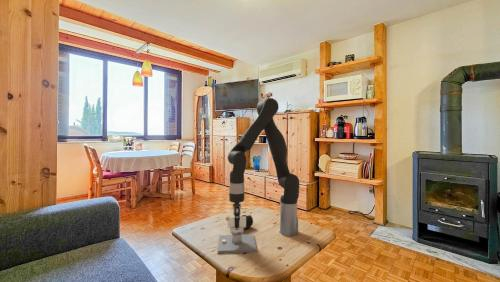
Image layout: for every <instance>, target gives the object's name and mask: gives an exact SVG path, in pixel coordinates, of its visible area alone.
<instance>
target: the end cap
mask: <svg viewBox="0 0 500 282" xmlns="http://www.w3.org/2000/svg"><path fill="white" fill-rule="evenodd" d="M241 216H246V227H244V229H247V228H250V227H252V226H253V224H254V219H253V217H252V216H251V215H250V214H249V215H246V214H242V215H241Z"/></svg>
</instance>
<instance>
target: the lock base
mask: <svg viewBox="0 0 500 282" xmlns="http://www.w3.org/2000/svg"><path fill="white" fill-rule="evenodd" d="M257 250H258V249H257V245H256V241H255V235H254V233H250V234H249V233H248V234H244V233H242V234H239V235H234V234H219V237H218V245H217V254H219V255H220V254H235V253H236V254H239V253H257V252H258V251H257Z"/></svg>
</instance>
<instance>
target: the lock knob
mask: <svg viewBox="0 0 500 282" xmlns="http://www.w3.org/2000/svg"><path fill="white" fill-rule="evenodd" d="M246 216H247V215H246ZM246 216H242V215H240V220H239V228H235V220H234V219H235V216H225V221H227V229H229V234H230V235H232V234H234V235H239V234H242V235H243V234H244V232H245V228H244V227H246ZM236 218H239V217H236Z"/></svg>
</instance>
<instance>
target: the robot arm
mask: <svg viewBox="0 0 500 282" xmlns="http://www.w3.org/2000/svg"><path fill="white" fill-rule="evenodd" d="M278 111H279V103H278V101H277V100H276V99H275V98H272V97H268V98H265V99H262V100H260V101H258V103H257V105H256V113H257V115H258V116H257V117H256V119H254V121H253V122H252V123H251V124H250V125H249V127H248V128H247V129H246V130H245V131H244V132H243V134H242V136H241V137H240V139H239V141H238V142H237V143H236V144H235V145H234V146H233V147H232V149H230V151H229V152H228V155H227V161H228V163H229V164H231V165H232V170H230V172H229V184H228V185H229V186H228V189H229V190H228V193H229V195H228V200H229V202H230V203H232V210H233V211H232V212H233V213H232V214H233V217H235V219H234V220H235V228H239V220H240V216H241V211H242V205H241V204H242V203H243V202H244V201H245V171H246V166H247V156H246V152H248V151H250V150H251V149H252V148H253V146H254V144H255V143H256V141H257V139H258V137H260V135H261V133H262V132H263V131H264V133H265V137H266V140H267V144H268V148H269V151H270V154H271V158H272V160H273V163H274V166H275V171H276V176H277V182H278V185H279V186H280V187H281V188H282V189H283V195H281V196H280V199H279V200H280V207H279V208H280V209H279V213H280V214H279V216H280V217H279V218H280V220H279V222H280V223H279V226H280V227H279V232H280V234H281V235H283V236H285V237H286V236H287V237H294V236H297V235H299V216H298V200H299V196H300V195H299V194H300V179H299V177H298V175H296V174H294V173H291V172H290V169H289V166H288V161H287V160H288V147H287V143H286V138H285V137H284V135H283V134H282V132H281V131H280V129H279V128H278V127H277V124H275V120H274V117H275V116H276V114H277V113H278ZM236 217H239V218H236Z"/></svg>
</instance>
